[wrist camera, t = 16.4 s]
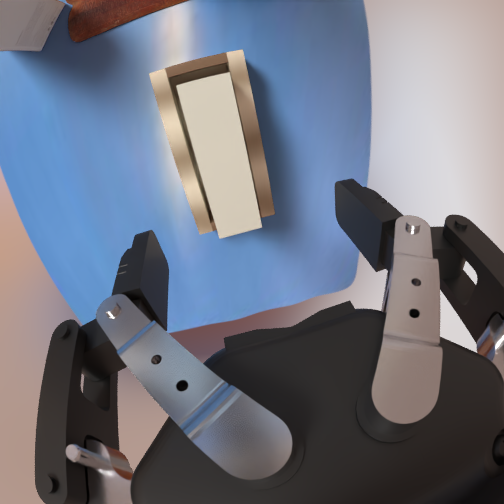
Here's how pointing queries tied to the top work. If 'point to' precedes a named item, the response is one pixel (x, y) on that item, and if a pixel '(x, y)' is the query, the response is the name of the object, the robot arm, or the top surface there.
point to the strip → (220, 152)
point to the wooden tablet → (108, 14)
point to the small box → (27, 23)
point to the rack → (180, 137)
